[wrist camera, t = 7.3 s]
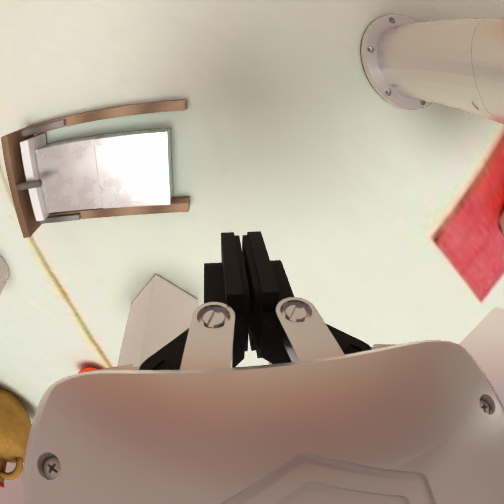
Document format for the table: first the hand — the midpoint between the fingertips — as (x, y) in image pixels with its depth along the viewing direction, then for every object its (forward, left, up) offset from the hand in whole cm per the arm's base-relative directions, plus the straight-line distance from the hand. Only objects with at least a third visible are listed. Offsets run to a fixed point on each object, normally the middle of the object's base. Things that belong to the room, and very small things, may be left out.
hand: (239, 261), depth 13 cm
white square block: (+17, +1, -21) cm, 27 cm away
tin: (+9, +1, -21) cm, 23 cm away
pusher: (+21, 0, -21) cm, 30 cm away
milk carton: (+9, +21, -21) cm, 31 cm away
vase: (+67, +60, -21) cm, 92 cm away
